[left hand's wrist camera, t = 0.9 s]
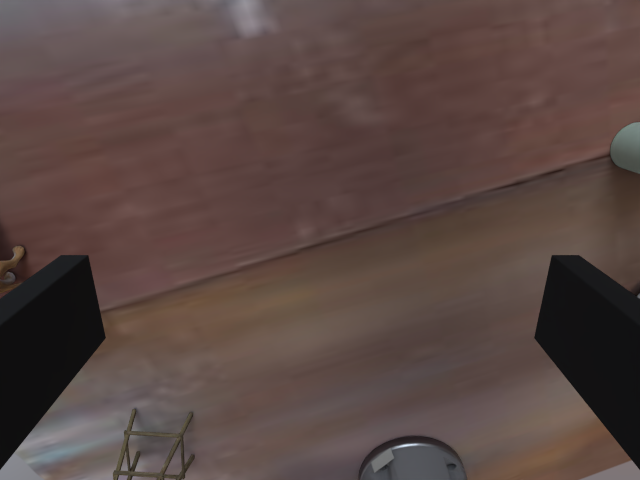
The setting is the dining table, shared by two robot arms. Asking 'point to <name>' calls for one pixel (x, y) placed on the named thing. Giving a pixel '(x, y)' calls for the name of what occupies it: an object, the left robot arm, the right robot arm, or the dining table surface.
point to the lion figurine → (3, 266)
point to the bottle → (627, 148)
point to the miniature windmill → (125, 448)
